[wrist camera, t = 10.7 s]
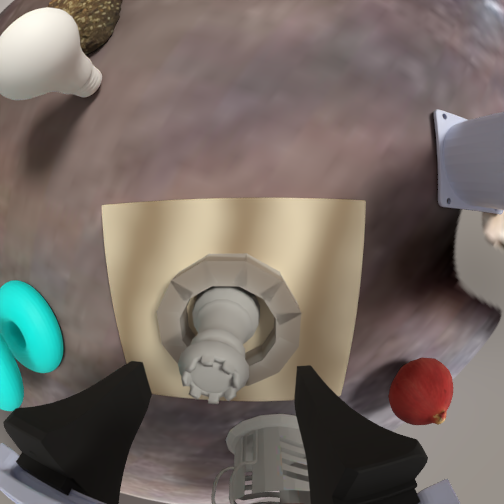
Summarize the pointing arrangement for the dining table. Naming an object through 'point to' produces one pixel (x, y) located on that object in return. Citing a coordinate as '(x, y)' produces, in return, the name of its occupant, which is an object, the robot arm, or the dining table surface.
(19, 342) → the donuts
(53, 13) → the lightbulb
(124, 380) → the robot arm
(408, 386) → the pomegranate
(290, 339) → the ring board
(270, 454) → the french press
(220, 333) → the rook chess piece
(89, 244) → the dining table surface
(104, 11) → the bread roll
